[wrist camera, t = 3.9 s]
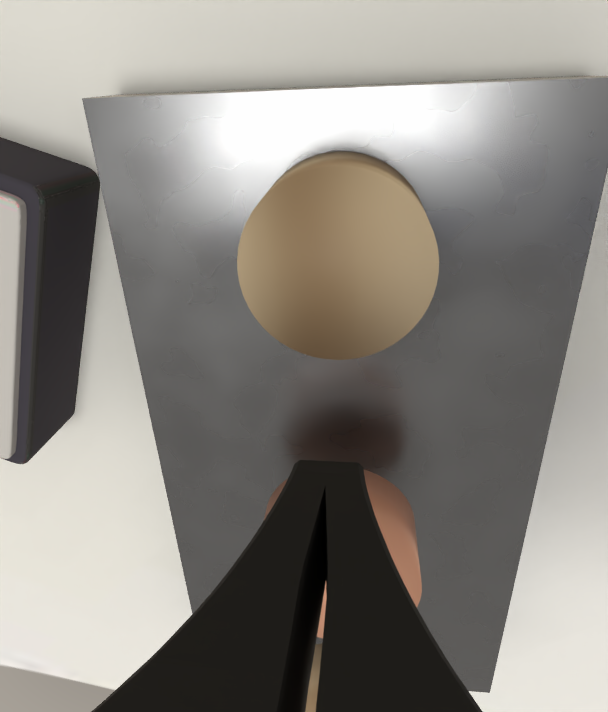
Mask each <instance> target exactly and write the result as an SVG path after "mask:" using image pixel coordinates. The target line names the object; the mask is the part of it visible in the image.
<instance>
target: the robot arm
mask: <svg viewBox="0 0 608 712" xmlns="http://www.w3.org/2000/svg"><path fill="white" fill-rule="evenodd" d="M325 584H326V595H327V599H326V610H325V621H324V632H323V642H322V653H321V663H320V673H319V683H318V693H317V702H316V712H482V711H481V709H480V708H479V706H478V705H477V703H476V702H475V700H474V699H473V697H472V696H471V694H470V693H469V691H468V690H467V688H466V687H465V686H464V684H463V683H462V681H461V680H460V678H459V677H458V675H457V674H456V672H455V671H454V669H453V668H452V666H451V665H450V663H449V662H448V660H447V659H446V657H445V655H444V654H443V652H442V650H441V649H440V647H439V645H438V644H437V642H436V641H435V639H434V637H433V636H432V634H431V632H430V630H429V629H428V627H427V625H426V623H425V622H424V620H423V618H422V616H421V615H420V613H419V611H418V609H417V607H416V606H415V604H414V602H413V600H412V598H411V596H410V594H409V592H408V590H407V588H406V586H405V584H404V582H403V580H402V578H401V576H400V574H399V572H398V570H397V568H396V565H395V563H394V561H393V559H392V557H391V554H390V552H389V550H388V547H387V545H386V542H385V540H384V537H383V535H382V532H381V530H380V527H379V525H378V522H377V519H376V517H375V514H374V511H373V508H372V504H371V501H370V498H369V494H368V491H367V486H366V482H365V476H364V467H363V466H362V465H360V464H359V463H357V462H336V461H314V460H299V461H298V462H296V463H295V464H294V466H293V469H292V471H291V473H290V476H289V478H288V480H287V482H286V484H285V486H284V487H283V489H282V491H281V493H280V495H279V497H278V498H277V500H276V502H275V504H274V505H273V507H272V509H271V510H270V512H269V513H268V515H267V517H266V518H265V520H264V521H263V523H262V524H261V526H260V528H259V529H258V531H257V532H256V534H255V535H254V537H253V538H252V540H251V541H250V543H249V544H248V545H247V547H246V548H245V549H244V551H243V552H242V554H241V555H240V556H239V558H238V559H237V560H236V562H235V563H234V565H233V566H232V567H231V569H230V570H229V571H228V573H227V574H226V575H225V576H224V578H223V579H222V580H221V581H220V583H219V584H218V585H217V586H216V588H215V589H214V590H213V591H212V593H211V594H210V595H209V596H208V597H207V598H206V600H205V601H204V602H203V603H202V604H201V605H200V607H199V608H198V609H197V610H196V611H195V612H194V613H193V614H192V615H191V617H190V618H189V619H188V620H187V621H186V622H185V623H184V624H183V625H182V626H181V627H180V628H179V629H178V630H177V632H176V633H175V634H174V635H173V636H172V637H171V638H170V639H169V640H168V641H167V642H166V643H165V644H164V645H163V646H162V647H161V648H160V649H159V650H158V651H157V652H156V653H155V654H154V655H153V656H152V657H151V658H150V659H149V660H148V661H147V662H146V663H145V664H144V665H143V666H141V667H140V668H139V669H138V670H137V671H136V672H135V673H134V674H133V675H132V676H131V677H129V678H128V679H127V680H126V681H125V682H124V683H123V684H122V685H121V686H120V687H119V688H118V689H116V690H115V691H114V692H113V693H112V694H111V695H110V696H109V697H108V698H107V699H106V700H104V701H103V702H102V703H101V704H100V705H99V706H97V708H95V709H94V710H93V711H92V712H305V711H306V703H307V695H308V688H309V681H310V675H311V669H312V663H313V657H314V651H315V645H316V639H317V633H318V627H319V621H320V615H321V608H322V602H323V596H324V590H325Z"/></svg>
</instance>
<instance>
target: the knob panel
mask: <svg viewBox="0 0 608 712" xmlns="http://www.w3.org/2000/svg"><path fill="white" fill-rule="evenodd" d="M82 100H83V105H84V109H85V114H86V119H87V123H88V128H89V133H90V137H91V142H92V147H93V151H94V156H95V161H96V165H97V170H98V175H99V179H100V184H101V189H102V193H103V198H104V203H105V207H106V212H107V217H108V221H109V226H110V231H111V235H112V240H113V245H114V249H115V254H116V259H117V263H118V268H119V273H120V277H121V282H122V287H123V291H124V296H125V301H126V305H127V310H128V315H129V319H130V324H131V329H132V333H133V338H134V343H135V347H136V352H137V357H138V361H139V366H140V371H141V375H142V380H143V385H144V389H145V394H146V399H147V403H148V408H149V413H150V417H151V422H152V427H153V431H154V436H155V441H156V445H157V450H158V455H159V459H160V464H161V469H162V473H163V478H164V483H165V487H166V492H167V497H168V501H169V506H170V511H171V515H172V520H173V525H174V529H175V534H176V539H177V543H178V548H179V553H180V557H181V562H182V567H183V571H184V576H185V581H186V585H187V590H188V595H189V599H190V604H191V609H192V613H194V612H195V611H196V610H197V609H198V608H199V607H200V605H201V604H202V603H203V602H204V601H205V600H206V598H207V597H208V596H209V595H210V594H211V593H212V591H213V590H214V589H215V588H216V586H217V585H218V584H219V583H220V581H221V580H222V579H223V578H224V576H225V575H226V574H227V573H228V571H229V570H230V569H231V567H232V566H233V565H234V563H235V562H236V560H237V559H238V558H239V556H240V555H241V554H242V552H243V551H244V549H245V548H246V547H247V545H248V544H249V543H250V541H251V540H252V538H253V537H254V535H255V534H256V532H257V531H258V529H259V528H260V526H261V524H262V523H263V521H264V517H265V512H266V508H267V504H268V502H269V499H270V497H271V495H272V494H273V492H274V491H275V490H276V488H277V487H278V486H279V485H280V484H281V483H282V482H284V481H285V480H286V479H288V478H289V476H290V473H291V471H292V469H293V466H294V464H295V463H296V462H298V461H299V460H314V461H336V462H357V463H359V464H360V465H362V466H363V467H364V470H367V471H370V472H372V473H375V474H377V475H379V476H381V477H383V478H385V479H386V480H388V481H389V482H391V483H392V484H393V485H395V486H396V487H397V488H398V489H399V490H400V491H401V492H402V493H403V495H404V496H405V497H406V498H407V500H408V502H409V504H410V505H411V508H412V511H413V514H414V519H415V528H416V537H417V546H418V555H419V565H420V574H421V583H422V594H421V599H420V602H419V604H418V606H417V609H418V611H419V613H420V615H421V616H422V618H423V620H424V622H425V623H426V625H427V627H428V629H429V630H430V632H431V634H432V636H433V637H434V639H435V641H436V642H437V644H438V645H439V647H440V649H441V650H442V652H443V654H444V655H445V657H446V659H447V660H448V662H449V663H450V665H451V666H452V668H453V669H454V671H455V672H456V674H457V675H458V677H459V678H460V680H461V681H462V683H463V684H464V686H465V687H466V688H467V690H468V691H476V692H488V693H490V689H491V685H492V680H493V676H494V671H495V667H496V662H497V658H498V653H499V649H500V645H501V640H502V636H503V631H504V627H505V622H506V618H507V613H508V609H509V605H510V600H511V596H512V591H513V587H514V582H515V578H516V573H517V569H518V564H519V560H520V556H521V551H522V547H523V542H524V538H525V533H526V529H527V524H528V520H529V516H530V511H531V507H532V502H533V498H534V493H535V489H536V484H537V480H538V475H539V471H540V467H541V462H542V458H543V453H544V449H545V444H546V440H547V435H548V431H549V427H550V422H551V418H552V413H553V409H554V404H555V400H556V395H557V391H558V386H559V382H560V378H561V373H562V369H563V364H564V360H565V355H566V351H567V346H568V342H569V338H570V333H571V329H572V324H573V320H574V315H575V311H576V306H577V302H578V298H579V293H580V289H581V284H582V280H583V275H584V271H585V266H586V262H587V257H588V253H589V249H590V244H591V240H592V235H593V231H594V226H595V222H596V217H597V213H598V209H599V204H600V200H601V195H602V191H603V186H604V182H605V177H606V173H607V168H608V76H573V77H548V78H523V79H498V80H474V81H449V82H424V83H399V84H375V85H350V86H325V87H300V88H276V89H251V90H226V91H201V92H177V93H152V94H127V95H113V96H102V97H92V98H82ZM337 151H345V152H356V153H361V154H366V155H369V156H372V157H375V158H377V159H379V160H381V161H383V162H385V163H387V164H388V165H390V166H391V167H393V168H394V169H396V170H397V171H398V172H399V173H400V174H401V175H402V176H403V177H405V178H406V180H407V181H408V182H409V183H410V185H411V186H412V187H413V188H414V190H415V192H416V193H417V195H418V197H419V199H420V201H421V203H422V206H423V208H424V210H425V213H426V215H427V217H428V220H429V222H430V224H431V227H432V229H433V232H434V235H435V238H436V242H437V246H438V254H439V274H438V280H437V285H436V289H435V292H434V295H433V298H432V300H431V302H430V305H429V307H428V309H427V310H426V312H425V313H424V315H423V317H422V318H421V319H420V321H419V322H418V323H417V324H416V326H415V327H414V328H413V329H412V330H411V331H410V332H409V333H408V334H407V335H406V336H404V337H403V338H402V339H400V340H399V341H398V342H396V343H395V344H393V345H391V346H390V347H388V348H386V349H384V350H382V351H379V352H377V353H375V354H372V355H368V356H365V357H361V358H355V359H347V360H331V359H322V358H317V357H312V356H309V355H306V354H303V353H300V352H298V351H296V350H293V349H291V348H289V347H288V346H286V345H284V344H282V343H281V342H279V341H278V340H277V339H275V338H274V337H273V336H271V335H270V334H269V333H268V332H267V331H266V330H265V329H264V328H263V327H262V326H261V325H260V323H259V322H258V321H257V320H256V318H255V317H254V315H253V314H252V312H251V311H250V309H249V307H248V305H247V303H246V301H245V299H244V296H243V294H242V290H241V287H240V284H239V278H238V271H237V256H238V246H239V242H240V238H241V234H242V232H243V229H244V227H245V224H246V222H247V220H248V218H249V216H250V215H251V213H252V211H253V210H254V208H255V207H256V206H257V205H258V203H259V202H260V201H261V199H262V198H263V197H264V196H265V194H266V193H267V192H268V191H269V189H270V188H271V187H272V186H273V184H274V183H275V182H276V181H277V180H278V179H279V178H280V177H281V176H282V175H283V174H284V173H285V172H286V171H288V170H289V169H290V168H292V167H293V166H294V165H296V164H298V163H300V162H301V161H303V160H305V159H308V158H310V157H313V156H315V155H319V154H323V153H327V152H337ZM322 642H323V638H319V637H317V639H316V644H322Z"/></svg>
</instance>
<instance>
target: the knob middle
mask: <svg viewBox="0 0 608 712" xmlns="http://www.w3.org/2000/svg"><path fill="white" fill-rule="evenodd" d="M364 476H365V482H366V486H367V491H368V494H369V498H370V501H371V504H372V508H373V511H374V514H375V517H376V519H377V522H378V525H379V527H380V530H381V532H382V535H383V537H384V540H385V542H386V545H387V547H388V550H389V552H390V554H391V557H392V559H393V561H394V563H395V565H396V568H397V570H398V572H399V574H400V576H401V578H402V580H403V582H404V584H405V586H406V588H407V590H408V592H409V594H410V596H411V598H412V600H413V602H414V604H415V606H416V607H417V606H418V604H419V602H420V599H421V594H422V583H421V574H420V565H419V555H418V546H417V537H416V528H415V519H414V514H413V511H412V508H411V505H410V504H409V502H408V500H407V498H406V497H405V496H404V495H403V493H402V492H401V491H400V490H399V489H398V488H397V487H396V486H395V485H393V484H392V483H391V482H389V481H388V480H386V479H385V478H383V477H381V476H379V475H377V474H375V473H372V472H370V471H367V470H364ZM287 480H288V479H286V480H285V481H284V482H282V483H281V484H280V485H279V486H278V487H277V488H276V490H275V491H274V492H273V494H272V495H271V497H270V499H269V502H268V504H267V508H266V512H265V517H264V520H265V518H266V517H267V515H268V513H269V512H270V510H271V509H272V507H273V505H274V504H275V502H276V500H277V498H278V497H279V495H280V493H281V491H282V489H283V487H284V486H285V484H286V482H287ZM326 599H327V595H326V584H325V590H324V596H323V602H322V608H321V615H320V621H319V627H318V633H317V637H319V638H323V632H324V621H325V610H326Z"/></svg>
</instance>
